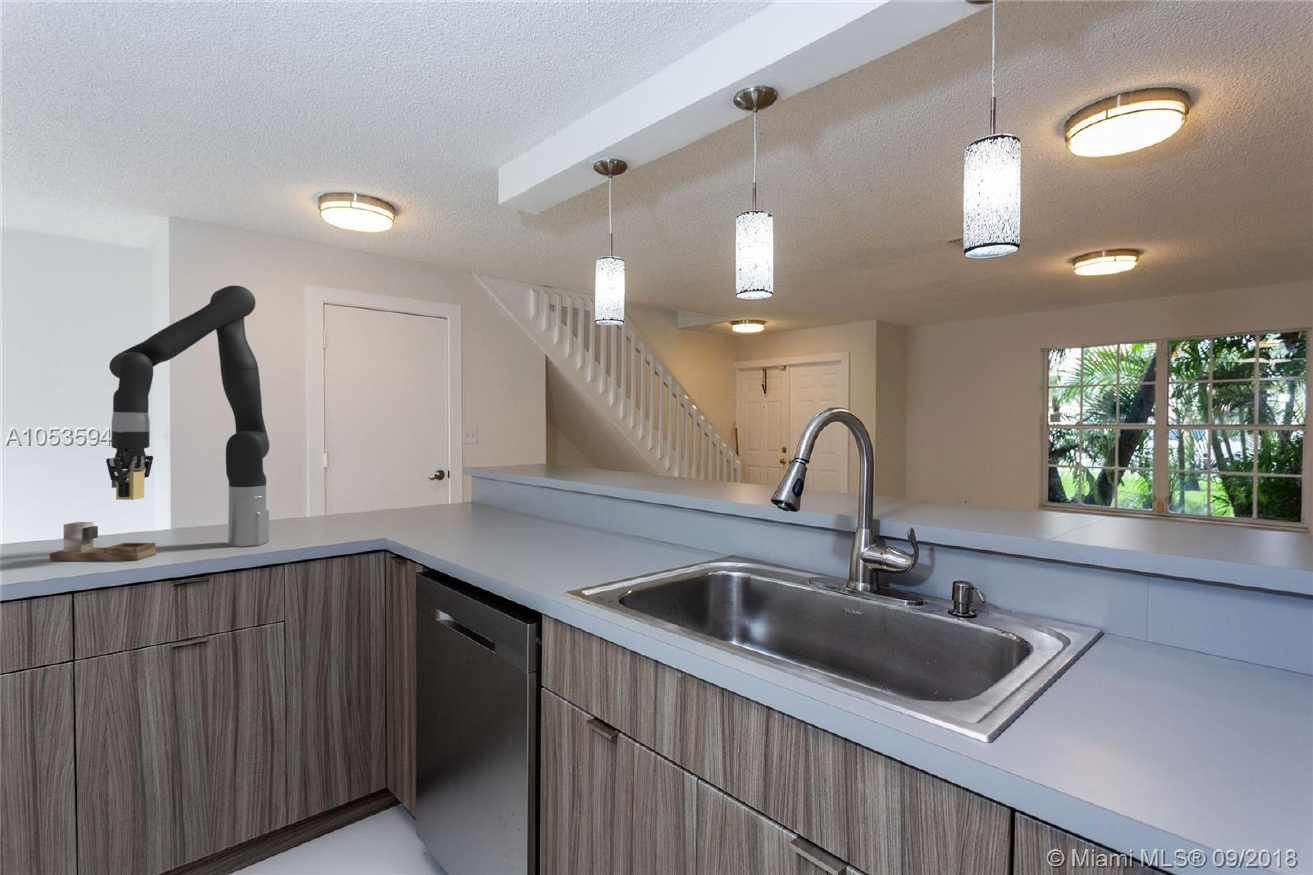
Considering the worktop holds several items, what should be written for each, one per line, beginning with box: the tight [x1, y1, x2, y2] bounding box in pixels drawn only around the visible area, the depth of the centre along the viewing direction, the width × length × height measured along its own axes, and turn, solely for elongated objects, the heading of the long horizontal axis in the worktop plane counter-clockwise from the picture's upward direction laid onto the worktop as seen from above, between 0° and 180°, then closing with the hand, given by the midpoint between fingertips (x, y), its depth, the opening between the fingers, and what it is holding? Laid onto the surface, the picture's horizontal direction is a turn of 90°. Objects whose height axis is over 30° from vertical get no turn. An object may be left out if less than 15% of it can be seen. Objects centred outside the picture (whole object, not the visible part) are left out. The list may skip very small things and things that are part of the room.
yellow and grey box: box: [111, 471, 145, 501], centre depth 160 cm, size 5×4×7 cm
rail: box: [49, 521, 157, 562], centre depth 159 cm, size 20×7×9 cm, turn 98°
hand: (130, 495), depth 160 cm, fingers closed on yellow and grey box, 4 cm apart
